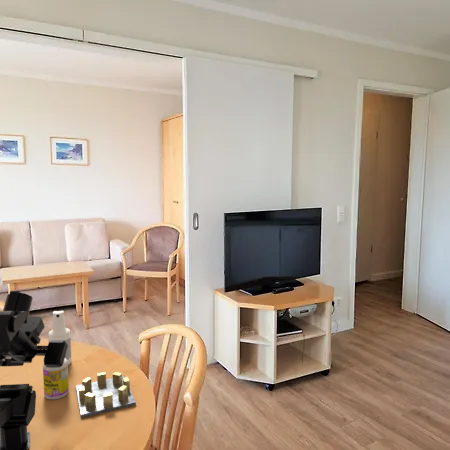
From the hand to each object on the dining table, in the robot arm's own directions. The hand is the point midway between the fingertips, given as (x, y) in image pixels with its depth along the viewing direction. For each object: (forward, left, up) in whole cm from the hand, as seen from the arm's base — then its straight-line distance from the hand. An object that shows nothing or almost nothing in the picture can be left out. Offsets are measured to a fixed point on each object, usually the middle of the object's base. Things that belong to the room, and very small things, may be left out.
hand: (40, 364), depth 108 cm
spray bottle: (+27, -6, -13) cm, 31 cm away
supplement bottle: (+7, -4, -13) cm, 16 cm away
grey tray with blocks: (0, -16, -13) cm, 21 cm away
